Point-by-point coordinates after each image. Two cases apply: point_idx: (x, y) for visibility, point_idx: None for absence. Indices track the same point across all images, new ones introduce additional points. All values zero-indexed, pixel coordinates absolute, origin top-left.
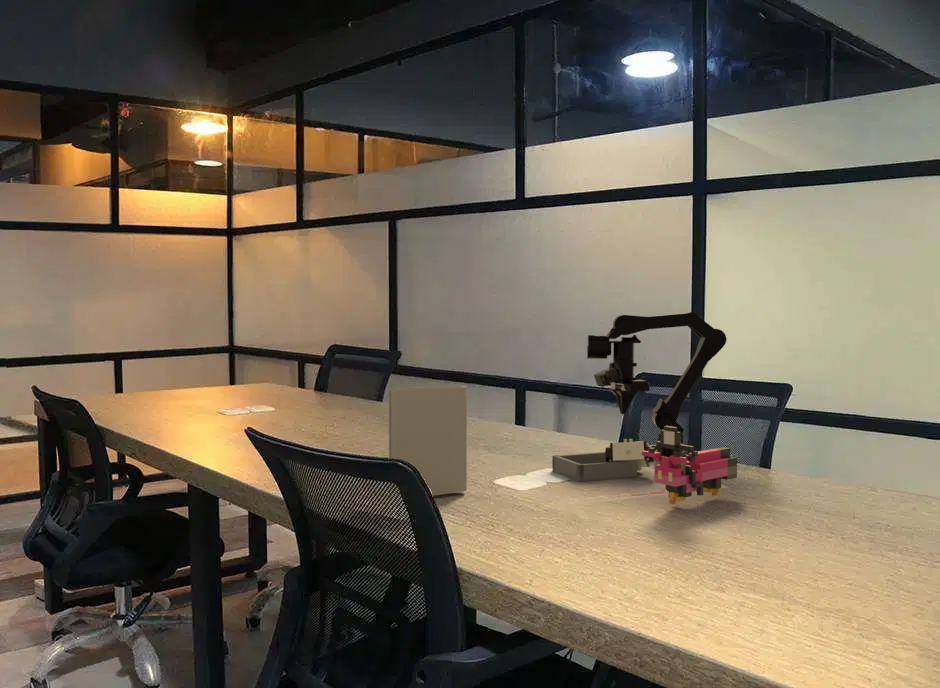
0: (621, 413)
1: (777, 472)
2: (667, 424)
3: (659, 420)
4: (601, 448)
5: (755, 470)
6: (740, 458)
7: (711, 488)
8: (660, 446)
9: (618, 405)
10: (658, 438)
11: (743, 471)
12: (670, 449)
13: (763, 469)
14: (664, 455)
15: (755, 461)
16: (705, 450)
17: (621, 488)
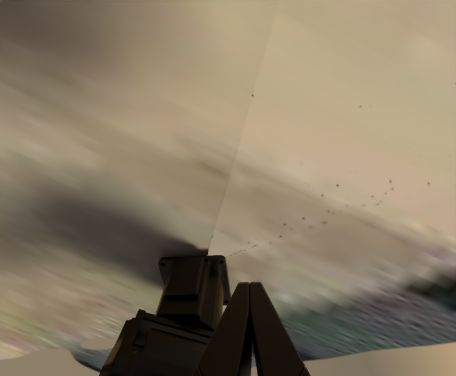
0: (247, 282)
1: (3, 348)
2: (108, 357)
3: (118, 359)
4: (431, 165)
5: (19, 332)
6: None
7: None
8: (178, 275)
9: (282, 334)
10: (198, 299)
11: (4, 313)
12: (165, 286)
13: (32, 346)
14: (173, 260)
15: None
16: None
17: None
